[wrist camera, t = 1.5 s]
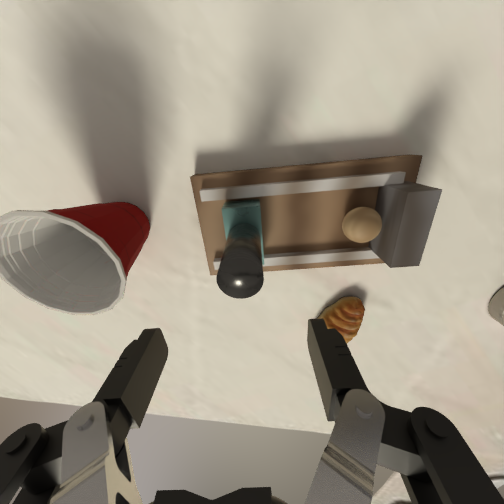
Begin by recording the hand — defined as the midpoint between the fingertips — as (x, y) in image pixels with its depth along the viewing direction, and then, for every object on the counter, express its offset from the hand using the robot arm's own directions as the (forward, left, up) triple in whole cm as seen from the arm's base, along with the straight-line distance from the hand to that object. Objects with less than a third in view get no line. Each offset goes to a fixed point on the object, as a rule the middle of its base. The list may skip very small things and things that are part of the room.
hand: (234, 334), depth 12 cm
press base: (-7, 0, -19) cm, 20 cm away
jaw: (0, 0, -16) cm, 16 cm away
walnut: (-13, 0, -15) cm, 20 cm away
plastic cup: (+15, -1, -19) cm, 24 cm away
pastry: (-13, +18, -19) cm, 29 cm away
